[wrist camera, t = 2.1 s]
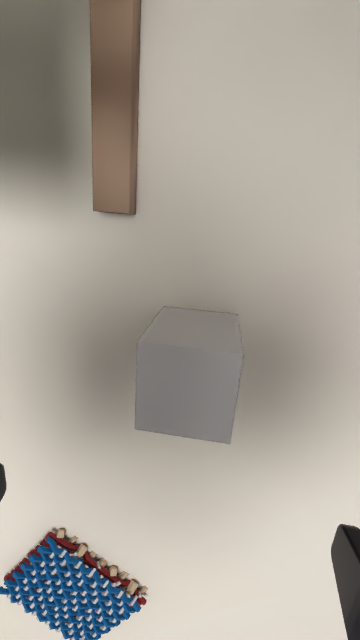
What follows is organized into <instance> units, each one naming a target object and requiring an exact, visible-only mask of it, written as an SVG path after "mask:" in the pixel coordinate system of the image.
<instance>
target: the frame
mask: <svg viewBox="0 0 360 640" xmlns="http://www.w3.org/2000/svg"><path fill="white" fill-rule="evenodd" d="M140 12H141V0H90V40H91V105H92V169H93V211H100V212H111V213H125V214H135V210H136V170H137V131H138V91H139V52H140Z"/></svg>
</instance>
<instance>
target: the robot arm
mask: <svg viewBox="0 0 360 640" xmlns="http://www.w3.org/2000/svg"><path fill="white" fill-rule="evenodd" d="M5 491H6V478H5V471H4V466H3V465H2V464H1V463H0V501H1V500H2V498H3V496H4V494H5ZM331 557H332V563H333V568H334V573H335V578H336V583H337V588H338V593H339V598H340V603H341V608H342V613H343V618H344V623H345V628H346V632H347V637H348V640H360V529H359V528H357V527H355V526H350V525H345V524H340V525H339V526H338V528H337V531H336V534H335V537H334V540H333V543H332V547H331Z"/></svg>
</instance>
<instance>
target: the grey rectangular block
mask: <svg viewBox="0 0 360 640" xmlns="http://www.w3.org/2000/svg"><path fill="white" fill-rule="evenodd" d="M243 355H244V354H243V347H242V341H241V334H240V328H239V321H238V314H230V313H221V312H211V311H202V310H193V309H183V308H174V307H165V306H164V307H163V308H162V310H161V311H160V312H159V314H158V315H157V316H156V318H155V319H154V320H153V321H152V323H151V324H150V325H149V327H148V328H147V329H146V331H145V332H144V333H143V335H142V336H141V337H140V338H139V340H138V341H137V370H136V402H135V429H137V430H143V431H150V432H156V433H162V434H169V435H175V436H181V437H188V438H194V439H200V440H207V441H213V442H220V443H226V444H230V441H231V434H232V428H233V421H234V414H235V408H236V401H237V394H238V388H239V381H240V375H241V368H242V361H243Z"/></svg>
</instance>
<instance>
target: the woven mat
mask: <svg viewBox="0 0 360 640" xmlns="http://www.w3.org/2000/svg"><path fill="white" fill-rule="evenodd" d="M64 532H65V529H59V530H58V531H57V532H55V533H53V532H50V533H49V534H47V535H46V536H45V537H46V541H45V540H44V539H43V540H42V541H41V543H40V545H41V546H39V545H38V546H36V548H35V550H33V551H31V552H29V553H28V557H29V559H27V558H25V559H24V560H23V561H21V563H20V564H19V566H17V567H16V568H15V570H12V571H11V573H9V574H8V575H6V576H5V577H4V581H5V582H4V585H6V587H7V588H8V589H5V588H3V587H2V586H1V587H0V594H6V595H7V598H8V599H10V598H11V602H10V603H16V602H18V603H17V604H18V605H21V604H23V606H24V608H25V613H29V612H32V615H33V616H35V615H37V620H38V619H39V621H40V622H43V621H45V624H46V625H49V626H50V627H49V629H50V630H51V629H55V630H56V632H60V630H61V632H62V634H63V637H62V638H65V639H68V638H70V640H98V639H99V638H101V634H105V633H108V632H109V631H110V627H115V626H118V625H119V624H120V620H125V619H126V620H127V619H129V617H130V614H129V613H135V612H139V611H140V609H141V607H140V605H141V604H142V605H145V604H146V599H145V598H144V597H142V596H141V595H142V594H143V593H145V592H146V591H147V590H148V588H147V587H146V586H143V587H141V588H140V589H138V590H137V587H138V584H137V582H135V581H134V580H131V581H130V580H126V581H123V580H124V579H125V578H126V577H127V576H128V575H129V574H128V573H126V572H125V571H123V572H122V573H120V574H119V575H118V576H117V577H116V574H117V567H115V566H111V567H109V568H108V569H107V570H106V569H105V568H104V567H105V565H106V564H107V561H106V560H104V559H103V558H102V559H100V560H99V561H97V562H95V561H94V560H93V558H94V557H95V556H96V555H97V554H96V553H94V552H93V551H91V552H90V553H89V554H88V552H87V549H88V548H87V546H85V545H84V544H82V543H81V545H73V544H74V543H75V542H76V540H77V539H78V538H77V537H76V536H74V537H72V538H71V539H69V540H68V541H66V540H64V539H63V538H64ZM70 551H71V552H70ZM82 556H83V557H84V558H83V559H81V558H82ZM119 586H121V587H119ZM34 611H35V612H34ZM72 637H73V638H72Z"/></svg>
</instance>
